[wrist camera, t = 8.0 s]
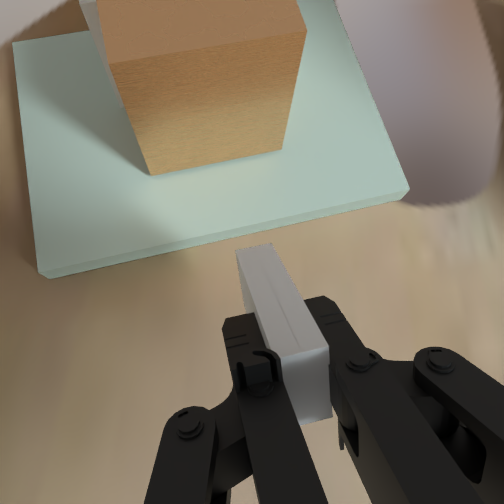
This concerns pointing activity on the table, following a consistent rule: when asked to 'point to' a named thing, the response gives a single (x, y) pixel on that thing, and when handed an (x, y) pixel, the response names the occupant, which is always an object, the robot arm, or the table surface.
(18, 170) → the table surface
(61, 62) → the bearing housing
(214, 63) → the cardboard box
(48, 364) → the table surface
